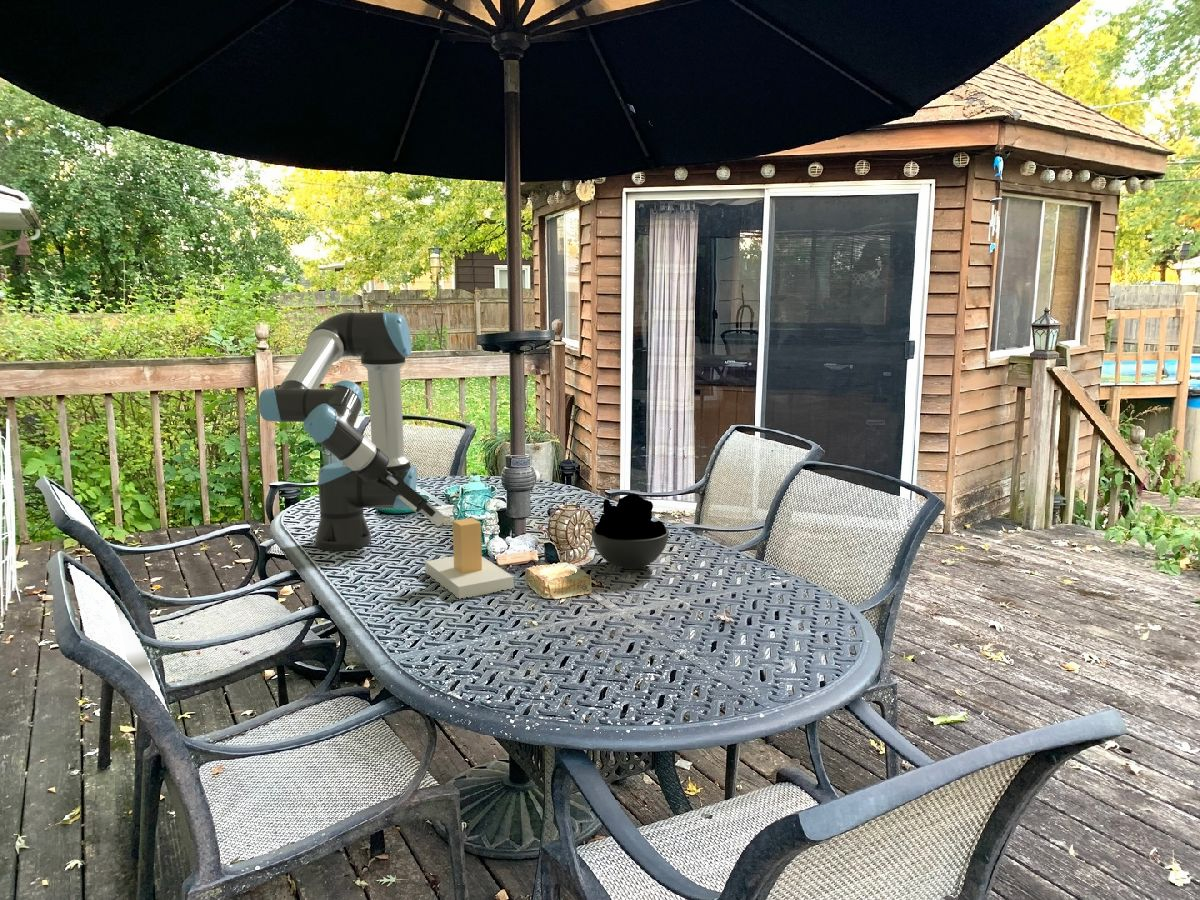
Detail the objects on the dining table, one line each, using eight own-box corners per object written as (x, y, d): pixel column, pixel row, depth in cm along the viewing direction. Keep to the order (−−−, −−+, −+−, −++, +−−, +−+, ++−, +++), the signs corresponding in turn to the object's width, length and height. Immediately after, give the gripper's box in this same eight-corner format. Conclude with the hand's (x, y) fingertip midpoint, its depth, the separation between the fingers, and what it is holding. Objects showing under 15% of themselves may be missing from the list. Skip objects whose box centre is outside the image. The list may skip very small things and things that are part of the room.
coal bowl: (668, 556, 224) (670, 489, 220) (667, 581, 204) (669, 507, 201) (595, 554, 225) (595, 487, 222) (587, 578, 206) (587, 505, 202)
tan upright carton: (453, 567, 204) (452, 520, 202) (473, 564, 207) (472, 517, 205) (462, 573, 200) (460, 525, 198) (481, 569, 202) (480, 522, 200)
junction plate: (425, 572, 209) (424, 540, 208) (476, 563, 217) (475, 532, 215) (459, 599, 191) (458, 564, 189) (513, 588, 198) (513, 554, 197)
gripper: (338, 462, 194) (402, 515, 205) (371, 483, 174) (440, 541, 184) (360, 438, 196) (422, 492, 207) (394, 456, 175) (462, 514, 186)
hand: (431, 515), depth 196 cm, fingers open, 13 cm apart
